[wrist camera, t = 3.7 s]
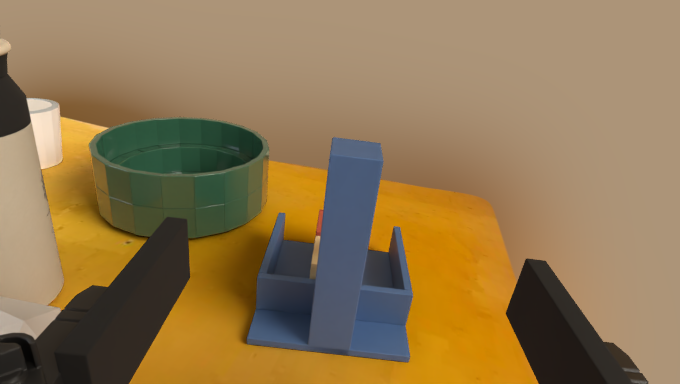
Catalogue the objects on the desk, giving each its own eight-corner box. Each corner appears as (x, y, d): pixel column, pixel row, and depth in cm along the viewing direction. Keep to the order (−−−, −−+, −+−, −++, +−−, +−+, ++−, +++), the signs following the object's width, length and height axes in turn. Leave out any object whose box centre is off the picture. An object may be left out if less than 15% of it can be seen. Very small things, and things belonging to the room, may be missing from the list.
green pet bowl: (58, 211, 42) (45, 145, 39) (178, 159, 56) (176, 108, 53) (200, 264, 37) (198, 194, 34) (291, 193, 52) (296, 139, 49)
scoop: (408, 362, 30) (460, 170, 23) (246, 344, 30) (252, 144, 23) (393, 257, 41) (424, 110, 35) (277, 244, 41) (286, 92, 35)
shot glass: (0, 176, 47) (-16, 115, 44) (-1, 154, 51) (-15, 98, 48) (72, 167, 51) (62, 111, 47) (65, 148, 55) (55, 95, 52)
